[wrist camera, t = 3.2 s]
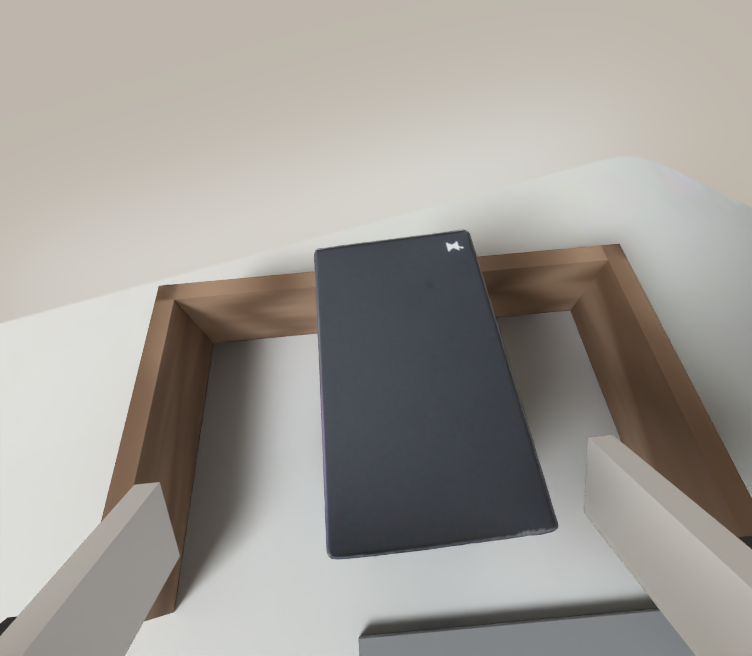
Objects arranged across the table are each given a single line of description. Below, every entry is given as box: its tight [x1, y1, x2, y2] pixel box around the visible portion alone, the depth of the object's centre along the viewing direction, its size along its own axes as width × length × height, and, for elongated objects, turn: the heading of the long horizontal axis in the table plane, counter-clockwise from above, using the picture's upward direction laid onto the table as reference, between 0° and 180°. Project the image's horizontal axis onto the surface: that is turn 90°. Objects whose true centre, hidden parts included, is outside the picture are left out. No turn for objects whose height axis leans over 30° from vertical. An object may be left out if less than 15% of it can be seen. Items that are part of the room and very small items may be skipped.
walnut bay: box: [101, 244, 752, 621], centre depth 19 cm, size 25×15×5 cm, turn 95°
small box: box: [314, 230, 558, 559], centre depth 17 cm, size 11×6×10 cm, turn 6°
